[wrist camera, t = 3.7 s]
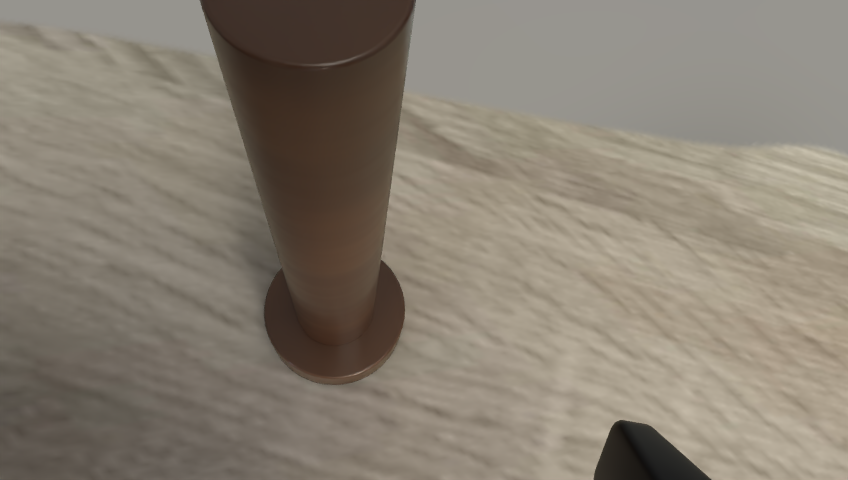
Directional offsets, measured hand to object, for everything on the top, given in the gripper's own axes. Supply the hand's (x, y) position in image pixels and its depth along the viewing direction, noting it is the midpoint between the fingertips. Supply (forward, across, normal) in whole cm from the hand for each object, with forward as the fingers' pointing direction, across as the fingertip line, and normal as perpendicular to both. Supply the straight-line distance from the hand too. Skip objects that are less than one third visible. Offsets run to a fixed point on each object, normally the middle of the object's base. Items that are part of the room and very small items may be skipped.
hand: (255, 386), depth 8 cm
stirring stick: (+10, 0, +5) cm, 12 cm away
